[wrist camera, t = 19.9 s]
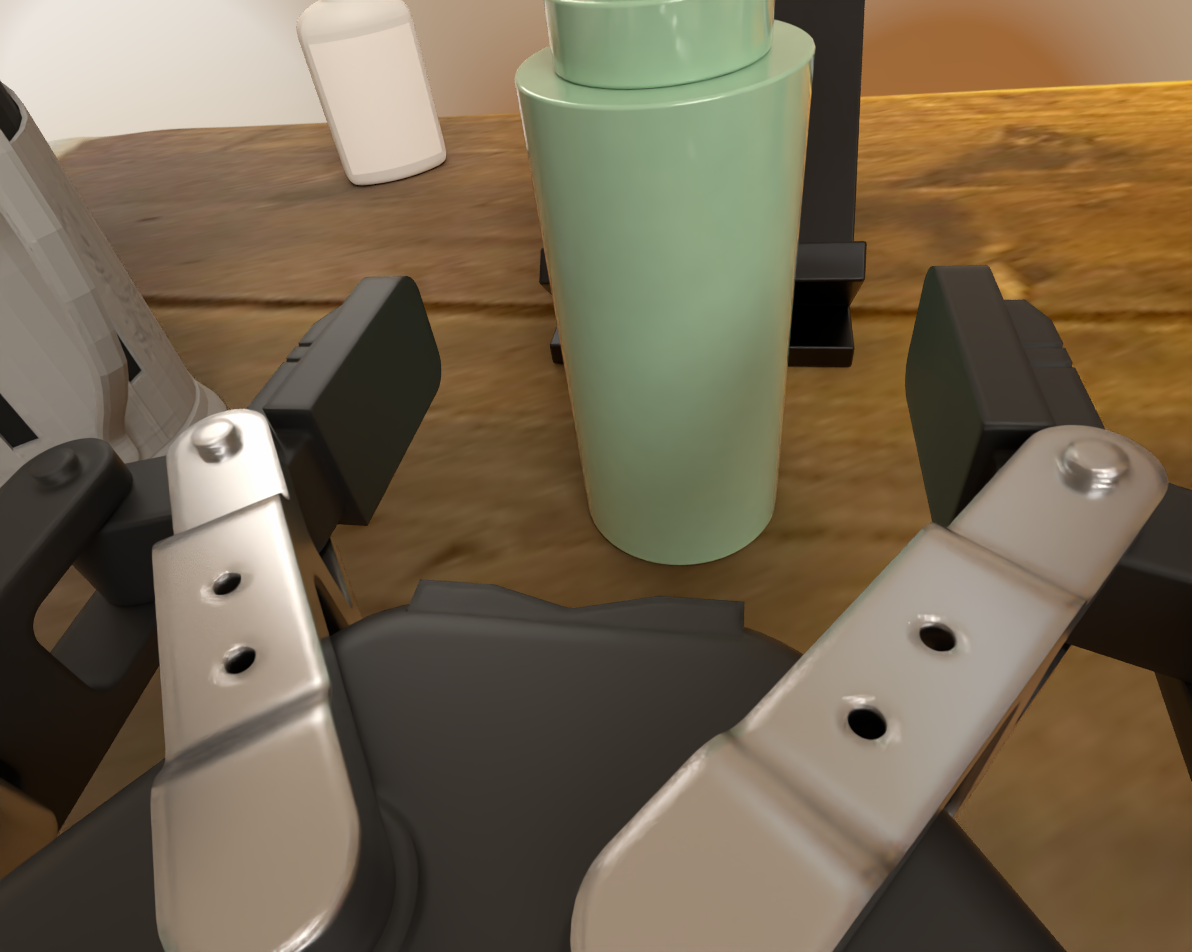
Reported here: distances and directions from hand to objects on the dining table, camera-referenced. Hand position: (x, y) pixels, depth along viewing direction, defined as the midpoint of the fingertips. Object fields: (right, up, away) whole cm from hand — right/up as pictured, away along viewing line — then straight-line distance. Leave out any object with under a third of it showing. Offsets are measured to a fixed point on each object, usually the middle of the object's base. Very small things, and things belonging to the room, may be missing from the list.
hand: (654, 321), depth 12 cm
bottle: (+2, +2, +10) cm, 11 cm away
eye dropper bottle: (-12, +14, +29) cm, 35 cm away
